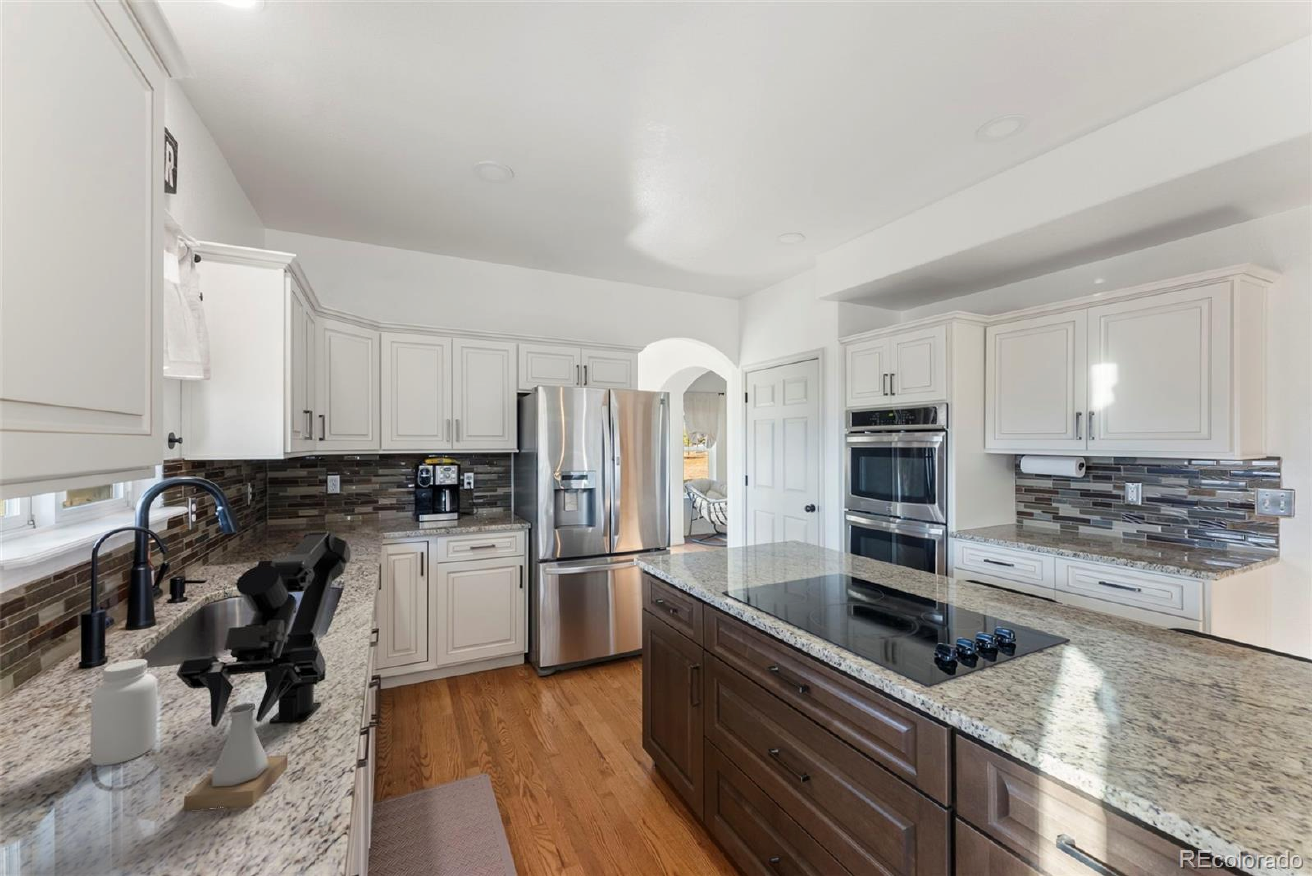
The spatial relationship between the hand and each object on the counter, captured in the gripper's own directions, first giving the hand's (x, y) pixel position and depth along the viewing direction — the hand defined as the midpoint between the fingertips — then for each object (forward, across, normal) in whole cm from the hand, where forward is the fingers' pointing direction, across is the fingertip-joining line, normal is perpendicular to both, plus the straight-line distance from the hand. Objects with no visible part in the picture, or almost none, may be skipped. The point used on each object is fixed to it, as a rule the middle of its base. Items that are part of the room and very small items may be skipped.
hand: (236, 723), depth 79 cm
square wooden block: (+7, 0, +9) cm, 12 cm away
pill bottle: (-5, -23, +20) cm, 31 cm away
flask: (+5, 0, +7) cm, 9 cm away
